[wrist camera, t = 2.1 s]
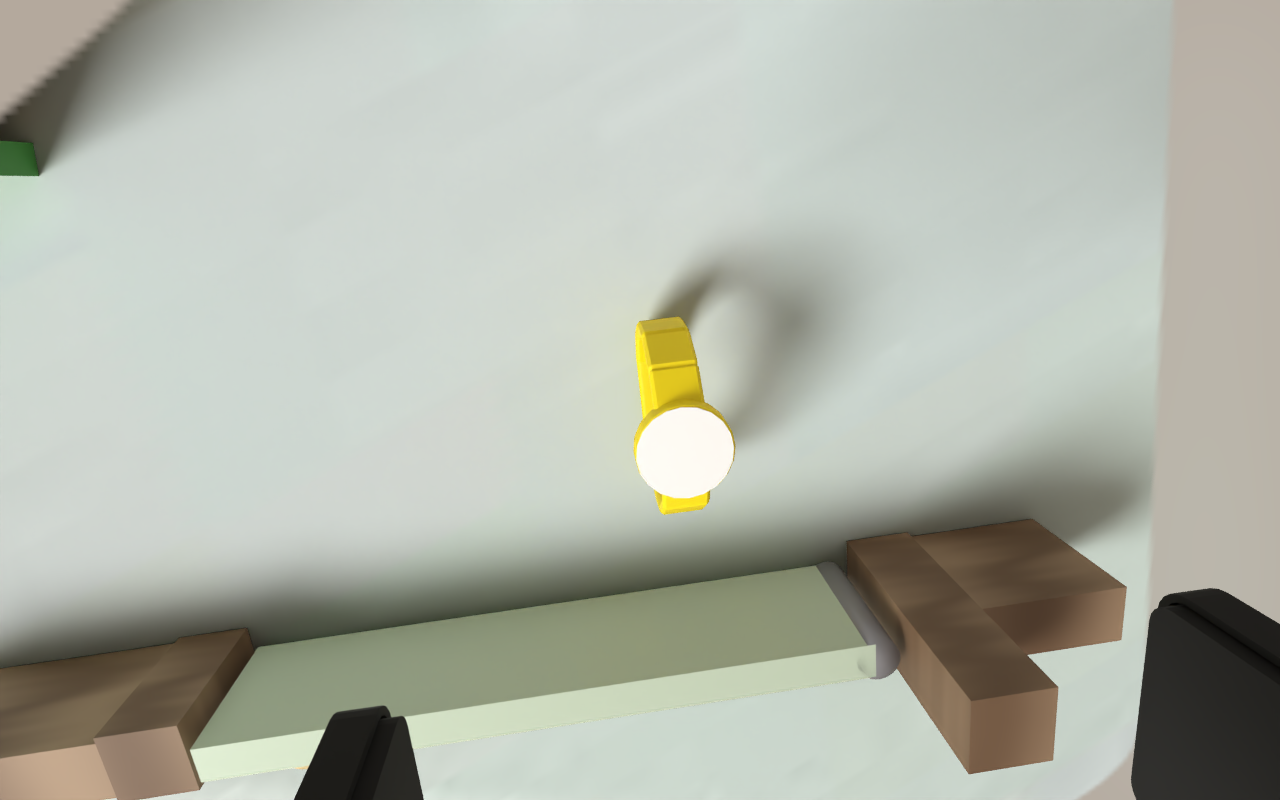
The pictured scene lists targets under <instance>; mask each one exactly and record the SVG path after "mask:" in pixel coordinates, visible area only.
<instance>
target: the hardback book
mask: <svg viewBox="0 0 1280 800" xmlns="http://www.w3.org/2000/svg"><path fill="white" fill-rule="evenodd" d="M0 175H2V176H39V173H38V168H37V163H36V157H35V152H34V147H33V143H26V142H12V141H0Z"/></svg>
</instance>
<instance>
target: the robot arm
mask: <svg viewBox="0 0 1280 800" xmlns="http://www.w3.org/2000/svg"><path fill="white" fill-rule="evenodd" d="M1131 783H1132V788H1133V792H1134V795H1135V797H1136V800H1280V624H1279V623H1277V622H1275V621H1274V620H1272V619H1270V618H1269V617H1267V616H1265V615H1264V614H1262V613H1260V612H1259V611H1257V610H1255V609H1254V608H1252V607H1250V606H1249V605H1247V604H1245V603H1244V602H1242V601H1240V600H1239V599H1237V598H1235V597H1234V596H1232V595H1230V594H1229V593H1226V592H1224V591H1222V590H1220V589H1212V588H1209V589H1202V590H1194V591H1187V592H1181V593H1174V594H1169V595H1167V596H1164V597H1163V599H1162V600H1161V601H1160V602H1159V606H1158V608H1157V609H1155V610H1154V611H1153V612H1152V613H1151V616H1150V620H1149V628H1148V637H1147V646H1146V654H1145V663H1144V672H1143V680H1142V689H1141V697H1140V706H1139V715H1138V723H1137V732H1136V741H1135V749H1134V758H1133V767H1132V776H1131ZM294 800H424V799H423V794H422V789H421V785H420V780H419V775H418V771H417V766H416V762H415V757H414V752H413V748H412V743H411V738H410V734H409V729H408V725H407V721H406V719H405V717H403V716H397V717H391V714H390V711H389V710H388V708H387V707H386V706H384V705H382V706H375V707H368V708H361V709H353V710H346V711H339V712H336V713H335V714H333V716H332V717H331V719H330V720H329V723H328V725H327V727H326V729H325V732H324V734H323V736H322V738H321V740H320V743H319V745H318V747H317V749H316V752H315V754H314V756H313V758H312V760H311V763H310V765H309V767H308V769H307V772H306V774H305V776H304V778H303V781H302V783H301V785H300V787H299V789H298V792H297V794H296V796H295V798H294Z"/></svg>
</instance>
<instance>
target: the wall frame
mask: <svg viewBox="0 0 1280 800" xmlns="http://www.w3.org/2000/svg"><path fill="white" fill-rule="evenodd" d="M846 544H847V577H848V579H849V580H850V582H851V583H852V584H853V586H854V587H855V589H856V590H857V591H858V593H859V594H860V596H861V597H862V598H863V600H864V601H865V603H866V604H867V605H868V607H869V608H870V610H871V611H872V612H873V614H874V615H875V617H876V618H877V619H878V621H879V622H880V624H881V625H882V627H883V628H884V629H885V631H886V632H887V634H888V635H889V636H890V638H891V639H892V641H893V642H894V643H895V645H896V646H897V648H898V649H899V651H900V655H901V659H900V663H899V665H898V667H897V669H898V671H899V672H900V674H901V675H902V677H903V678H904V680H905V681H906V683H907V684H908V685H909V687H910V688H911V690H912V691H913V693H914V694H915V696H916V697H917V699H918V700H919V702H920V703H921V705H922V706H923V708H924V709H925V710H926V712H927V713H928V715H929V716H930V718H931V719H932V721H933V722H934V724H935V725H936V727H937V728H938V730H939V731H940V733H941V734H942V736H943V737H944V738H945V740H946V741H947V743H948V744H949V746H950V747H951V749H952V750H953V752H954V753H955V755H956V756H957V758H958V759H959V761H960V762H961V763H962V765H963V766H964V768H965V769H966V771H967V772H968V774H974V773H980V772H986V771H992V770H998V769H1004V768H1010V767H1016V766H1022V765H1028V764H1034V763H1040V762H1046V761H1052V760H1053V753H1054V740H1055V726H1056V712H1057V699H1058V686H1057V685H1056V684H1055V683H1054V682H1053V681H1052V680H1051V679H1050V678H1049V677H1048V676H1047V675H1046V674H1045V673H1044V672H1043V671H1042V670H1041V669H1040V668H1039V667H1038V666H1037V665H1036V664H1035V663H1034V662H1033V661H1032V660H1031V659H1030V658H1029V657H1028V656H1027V655H1029V654H1036V653H1042V652H1048V651H1055V650H1061V649H1068V648H1074V647H1080V646H1087V645H1093V644H1099V643H1106V642H1112V641H1119V640H1121V638H1122V628H1123V618H1124V608H1125V598H1126V589H1127V587H1126V586H1125V585H1123V584H1122V583H1120V582H1119V581H1118V580H1116V579H1115V578H1113V577H1112V576H1111V575H1109V574H1108V573H1107V572H1105V571H1104V570H1102V569H1101V568H1100V567H1098V566H1097V565H1095V564H1094V563H1093V562H1091V561H1090V560H1089V559H1087V558H1086V557H1084V556H1083V555H1082V554H1080V553H1079V552H1077V551H1076V550H1075V549H1073V548H1072V547H1071V546H1069V545H1068V544H1066V543H1065V542H1064V541H1062V540H1061V539H1059V538H1058V537H1057V536H1055V535H1054V534H1053V533H1051V532H1050V531H1048V530H1047V529H1046V528H1044V527H1043V526H1041V525H1040V524H1039V523H1037V522H1036V521H1035V520H1033V519H1029V520H1022V521H1015V522H1008V523H1001V524H994V525H987V526H980V527H973V528H967V529H960V530H953V531H946V532H939V533H932V534H925V535H918V536H911V535H910V534H909V533H908V532H907V533H900V534H893V535H886V536H879V537H872V538H865V539H858V540H851V541H846ZM254 653H255V652H254V649H253V646H252V642H251V639H250V636H249V633H248V629H247V628H243V629H236V630H229V631H222V632H215V633H209V634H202V635H195V636H188V637H181V638H178V639H177V641H176V642H175V643H174V644H167V645H160V646H153V647H146V648H139V649H132V650H126V651H119V652H112V653H105V654H98V655H91V656H84V657H77V658H70V659H64V660H57V661H50V662H43V663H36V664H29V665H22V666H15V667H8V668H1V669H0V800H104V799H110V798H117V800H139V799H146V798H152V797H158V796H165V795H171V794H177V793H184V792H190V791H197V790H200V789H201V787H202V785H203V784H204V782H201V780H200V778H199V775H198V772H197V769H196V766H195V763H194V761H193V758H192V755H191V752H190V749H191V747H192V746H193V744H194V743H195V741H196V740H197V738H198V737H199V735H200V734H201V732H202V731H203V729H204V728H205V726H206V725H207V723H208V722H209V720H210V719H211V717H212V716H213V714H214V713H215V711H216V710H217V708H218V707H219V705H220V704H221V702H222V701H223V699H224V698H225V696H226V695H227V693H228V692H229V690H230V689H231V687H232V686H233V684H234V683H235V681H236V680H237V678H238V677H239V675H240V674H241V672H242V671H243V669H244V668H245V666H246V665H247V663H248V662H249V660H250V659H251V657H252V656H253V654H254Z"/></svg>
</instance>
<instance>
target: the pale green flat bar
mask: <svg viewBox="0 0 1280 800" xmlns="http://www.w3.org/2000/svg"><path fill="white" fill-rule="evenodd" d="M900 659H901V655H900V651H899V649H898V648H897V646H896V645H895V643H894V642H893V641H892V639H891V638H890V636H889V635H888V634H887V632H886V631H885V629H884V628H883V627H882V625H881V624H880V622H879V621H878V619H877V618H876V617H875V615H874V614H873V612H872V611H871V610H870V608H869V607H868V605H867V604H866V603H865V601H864V600H863V598H862V597H861V596H860V594H859V593H858V591H857V590H856V589H855V587H854V586H853V584H852V583H851V582H850V580H849V579H848V577H847V576H846V574H845V573H844V572H843V570H842V569H841V567H840V566H839V565H837V564H836V563H833V562H822V563H819V564H817V565H816V566H809V567H802V568H795V569H788V570H782V571H775V572H768V573H761V574H754V575H747V576H741V577H734V578H727V579H720V580H713V581H706V582H700V583H693V584H686V585H679V586H672V587H665V588H659V589H652V590H645V591H638V592H631V593H624V594H618V595H611V596H604V597H597V598H590V599H583V600H577V601H570V602H563V603H556V604H549V605H542V606H536V607H529V608H522V609H515V610H508V611H501V612H495V613H488V614H481V615H474V616H467V617H460V618H454V619H447V620H440V621H433V622H426V623H419V624H413V625H406V626H399V627H392V628H385V629H378V630H372V631H365V632H358V633H351V634H344V635H337V636H331V637H324V638H317V639H310V640H303V641H296V642H290V643H283V644H276V645H269V646H262V647H258V648H257V650H256V651H255V653H254V654H253V656H252V657H251V659H250V660H249V662H248V663H247V665H246V666H245V668H244V669H243V671H242V672H241V674H240V675H239V677H238V678H237V680H236V681H235V683H234V684H233V686H232V687H231V689H230V690H229V692H228V693H227V695H226V696H225V698H224V699H223V701H222V702H221V704H220V705H219V707H218V708H217V710H216V711H215V713H214V714H213V716H212V717H211V719H210V720H209V722H208V723H207V725H206V726H205V728H204V729H203V731H202V732H201V734H200V735H199V737H198V738H197V740H196V741H195V743H194V744H193V746H192V747H191V749H190V752H191V755H192V758H193V761H194V763H195V766H196V769H197V772H198V775H199V778H200V780H201V782H208V781H214V780H221V779H227V778H233V777H240V776H246V775H252V774H259V773H265V772H272V771H278V770H284V769H291V768H296V769H308V767H309V765H310V763H311V760H312V758H313V756H314V754H315V752H316V749H317V747H318V745H319V743H320V740H321V738H322V736H323V734H324V732H325V729H326V727H327V725H328V723H329V720H330V719H331V717H332V716H333V714H335V713H336V712H339V711H346V710H353V709H361V708H368V707H375V706H382V705H384V706H386V707H387V708H388V710H389V711H390V714H391V717H397V716H403V717H405V719H406V721H407V725H408V729H409V734H410V738H411V743H412V748H413V749H419V748H425V747H431V746H438V745H444V744H450V743H457V742H463V741H470V740H476V739H482V738H489V737H495V736H502V735H508V734H514V733H521V732H527V731H533V730H540V729H546V728H553V727H559V726H565V725H572V724H578V723H585V722H591V721H597V720H604V719H610V718H616V717H623V716H629V715H636V714H642V713H648V712H655V711H661V710H668V709H674V708H680V707H687V706H693V705H700V704H706V703H712V702H719V701H725V700H731V699H738V698H744V697H751V696H757V695H763V694H770V693H776V692H783V691H789V690H795V689H802V688H808V687H814V686H821V685H827V684H834V683H840V682H846V681H853V680H859V679H866V678H870V679H882V678H885V677H887V676H889V675H890V674H892V673H893V672H894V671H895V670H896V669H897V667H898V665H899V663H900Z"/></svg>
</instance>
